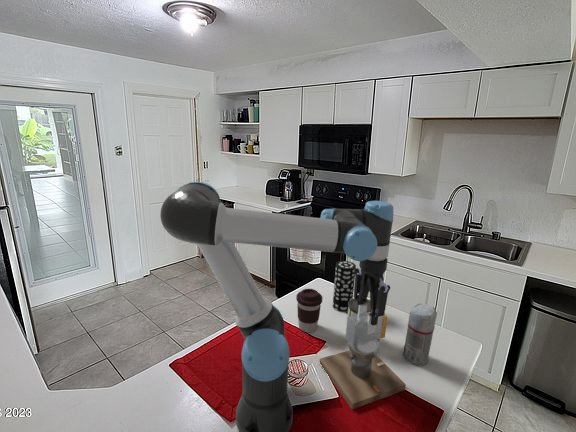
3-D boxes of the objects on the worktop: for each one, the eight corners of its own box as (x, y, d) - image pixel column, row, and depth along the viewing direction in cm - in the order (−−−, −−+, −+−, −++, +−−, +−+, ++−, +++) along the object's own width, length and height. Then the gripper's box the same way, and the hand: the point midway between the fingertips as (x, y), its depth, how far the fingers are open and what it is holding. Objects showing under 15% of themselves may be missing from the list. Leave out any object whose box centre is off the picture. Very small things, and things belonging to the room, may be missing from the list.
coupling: (356, 362, 91) (360, 329, 88) (340, 343, 99) (343, 312, 96) (388, 353, 96) (393, 321, 93) (370, 335, 104) (373, 305, 101)
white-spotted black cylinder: (328, 305, 140) (332, 264, 134) (340, 299, 145) (344, 259, 140) (343, 314, 134) (347, 270, 128) (355, 307, 139) (359, 265, 134)
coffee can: (372, 332, 122) (376, 299, 119) (373, 349, 113) (378, 314, 109) (345, 328, 124) (348, 296, 121) (344, 344, 115) (348, 310, 111)
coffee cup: (313, 338, 118) (316, 302, 114) (290, 329, 122) (291, 294, 118) (324, 324, 126) (326, 290, 122) (302, 316, 131) (304, 284, 127)
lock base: (352, 409, 88) (355, 379, 85) (319, 363, 105) (321, 337, 102) (404, 389, 95) (409, 362, 93) (366, 350, 112) (369, 325, 110)
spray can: (433, 366, 105) (443, 314, 100) (409, 367, 105) (417, 314, 99) (421, 349, 113) (429, 300, 108) (398, 350, 113) (406, 300, 107)
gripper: (406, 266, 83) (395, 342, 89) (366, 244, 98) (359, 310, 104) (383, 270, 80) (373, 348, 86) (345, 247, 95) (339, 315, 101)
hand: (365, 327), depth 95 cm, fingers closed on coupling, 4 cm apart
